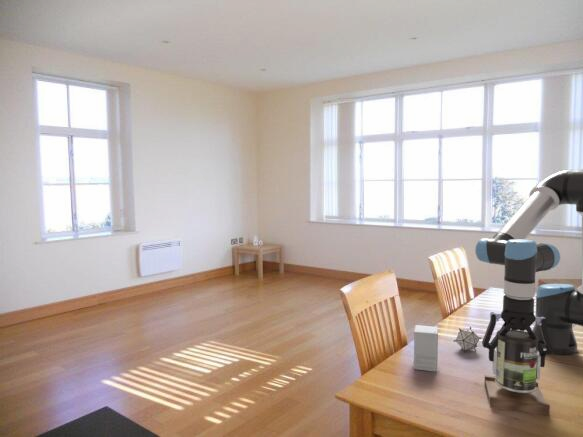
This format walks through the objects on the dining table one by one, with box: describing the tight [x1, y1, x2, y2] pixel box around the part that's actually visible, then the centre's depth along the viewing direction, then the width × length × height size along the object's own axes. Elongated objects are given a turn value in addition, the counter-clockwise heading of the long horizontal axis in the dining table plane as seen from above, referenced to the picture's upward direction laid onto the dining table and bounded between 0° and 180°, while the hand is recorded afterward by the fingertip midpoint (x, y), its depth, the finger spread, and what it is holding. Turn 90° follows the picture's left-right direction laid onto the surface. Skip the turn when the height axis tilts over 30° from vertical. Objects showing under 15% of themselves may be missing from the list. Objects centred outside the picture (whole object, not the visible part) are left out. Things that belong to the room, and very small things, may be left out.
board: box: [484, 375, 551, 416], centre depth 121 cm, size 14×14×3 cm
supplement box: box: [413, 324, 439, 372], centre depth 142 cm, size 7×7×13 cm
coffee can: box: [494, 329, 539, 393], centre depth 120 cm, size 10×10×14 cm
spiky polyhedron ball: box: [453, 326, 483, 353], centre depth 156 cm, size 9×8×10 cm
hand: (515, 374), depth 121 cm, fingers closed on coffee can, 10 cm apart
